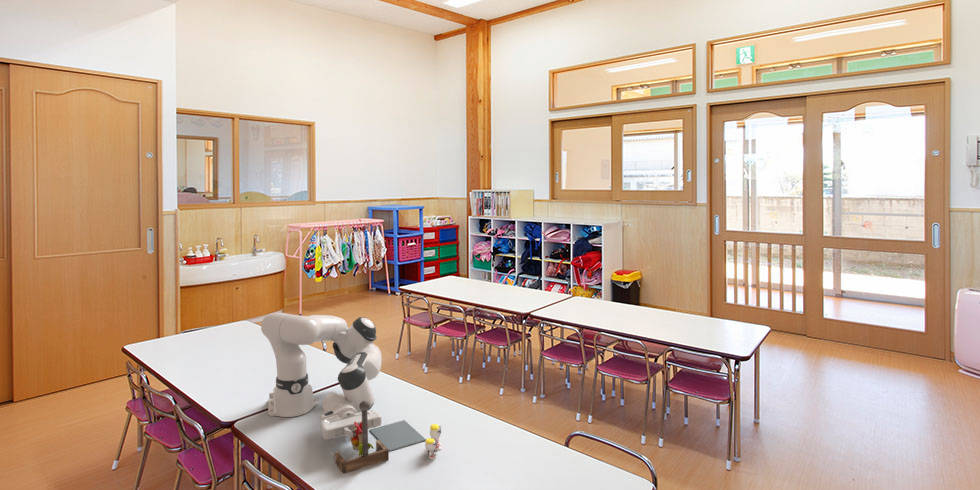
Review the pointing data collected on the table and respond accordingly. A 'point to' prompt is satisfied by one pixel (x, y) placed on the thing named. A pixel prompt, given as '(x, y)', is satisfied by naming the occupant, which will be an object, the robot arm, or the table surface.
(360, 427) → the bird rattle
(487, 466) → the table surface
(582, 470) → the table surface
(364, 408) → the wooden lever stand
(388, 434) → the mat
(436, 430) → the toy figures
